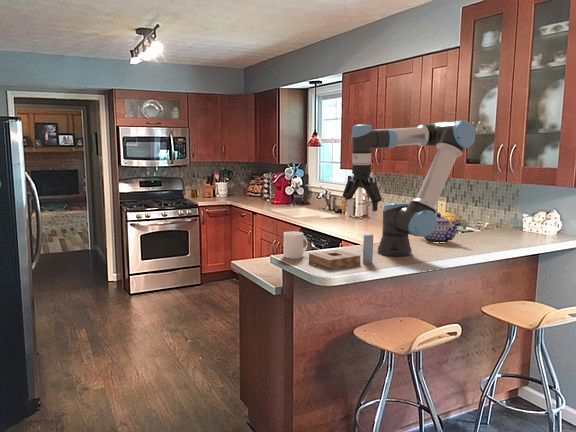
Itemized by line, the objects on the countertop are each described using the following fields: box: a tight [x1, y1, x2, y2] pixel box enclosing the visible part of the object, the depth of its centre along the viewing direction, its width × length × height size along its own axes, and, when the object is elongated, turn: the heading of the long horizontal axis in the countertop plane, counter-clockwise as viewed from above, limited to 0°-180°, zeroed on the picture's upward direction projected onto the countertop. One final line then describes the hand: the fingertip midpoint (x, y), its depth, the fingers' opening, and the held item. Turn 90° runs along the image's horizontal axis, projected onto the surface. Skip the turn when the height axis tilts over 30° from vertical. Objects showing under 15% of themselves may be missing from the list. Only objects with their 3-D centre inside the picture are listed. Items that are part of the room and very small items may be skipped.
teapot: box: [423, 212, 461, 243], centre depth 252 cm, size 25×15×15 cm, turn 37°
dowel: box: [362, 233, 374, 265], centre depth 205 cm, size 4×4×12 cm
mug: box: [283, 231, 309, 260], centre depth 215 cm, size 9×12×11 cm
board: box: [308, 248, 361, 271], centre depth 203 cm, size 16×14×4 cm
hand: (361, 217), depth 198 cm, fingers open, 13 cm apart
